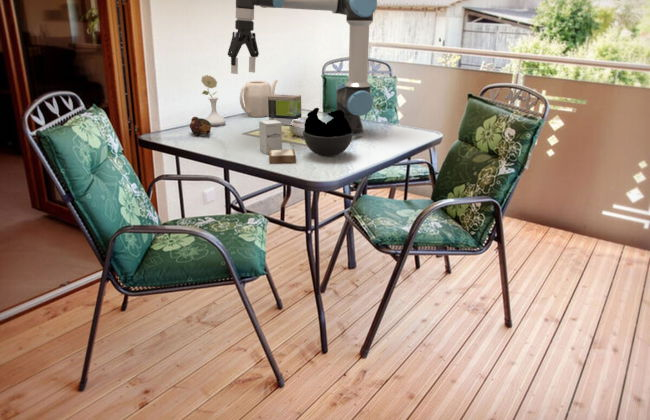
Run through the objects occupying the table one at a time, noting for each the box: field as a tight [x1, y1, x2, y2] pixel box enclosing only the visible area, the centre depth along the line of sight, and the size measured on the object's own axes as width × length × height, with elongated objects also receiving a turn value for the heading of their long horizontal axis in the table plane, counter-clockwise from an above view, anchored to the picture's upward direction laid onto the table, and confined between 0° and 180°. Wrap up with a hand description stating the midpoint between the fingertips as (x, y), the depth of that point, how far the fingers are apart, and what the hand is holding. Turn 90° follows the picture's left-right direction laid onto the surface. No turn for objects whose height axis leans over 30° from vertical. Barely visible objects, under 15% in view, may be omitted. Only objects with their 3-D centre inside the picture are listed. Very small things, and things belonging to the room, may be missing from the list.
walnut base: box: [268, 148, 297, 165], centre depth 195 cm, size 10×10×3 cm
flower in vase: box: [201, 74, 227, 127], centre depth 253 cm, size 13×11×25 cm
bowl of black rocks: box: [302, 107, 354, 158], centre depth 199 cm, size 20×20×19 cm
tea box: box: [268, 93, 302, 126], centre depth 260 cm, size 15×10×15 cm, turn 71°
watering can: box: [239, 79, 278, 118], centre depth 280 cm, size 16×27×19 cm, turn 135°
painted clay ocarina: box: [189, 116, 212, 137], centre depth 234 cm, size 10×15×8 cm, turn 45°
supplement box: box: [258, 119, 283, 155], centre depth 206 cm, size 7×7×13 cm
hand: (243, 73), depth 213 cm, fingers open, 13 cm apart
